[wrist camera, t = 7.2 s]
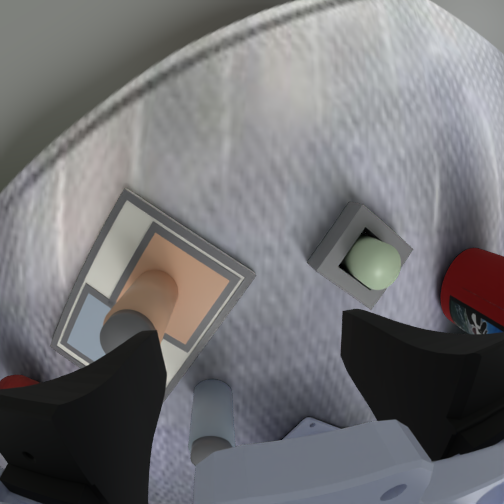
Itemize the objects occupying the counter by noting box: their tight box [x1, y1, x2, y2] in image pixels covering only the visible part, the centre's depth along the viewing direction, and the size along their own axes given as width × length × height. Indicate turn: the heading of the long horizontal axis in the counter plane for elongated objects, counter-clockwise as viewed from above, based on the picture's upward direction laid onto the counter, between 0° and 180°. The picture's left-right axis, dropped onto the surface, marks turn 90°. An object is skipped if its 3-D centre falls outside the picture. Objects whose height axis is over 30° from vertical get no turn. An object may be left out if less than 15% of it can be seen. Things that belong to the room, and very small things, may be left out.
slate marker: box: [188, 379, 235, 466], centre depth 19 cm, size 3×3×7 cm
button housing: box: [307, 202, 413, 310], centre depth 20 cm, size 5×5×2 cm
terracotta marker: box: [100, 270, 178, 354], centre depth 16 cm, size 3×3×7 cm
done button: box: [341, 234, 401, 290], centre depth 19 cm, size 3×3×3 cm
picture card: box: [50, 189, 256, 404], centre depth 20 cm, size 10×14×1 cm
